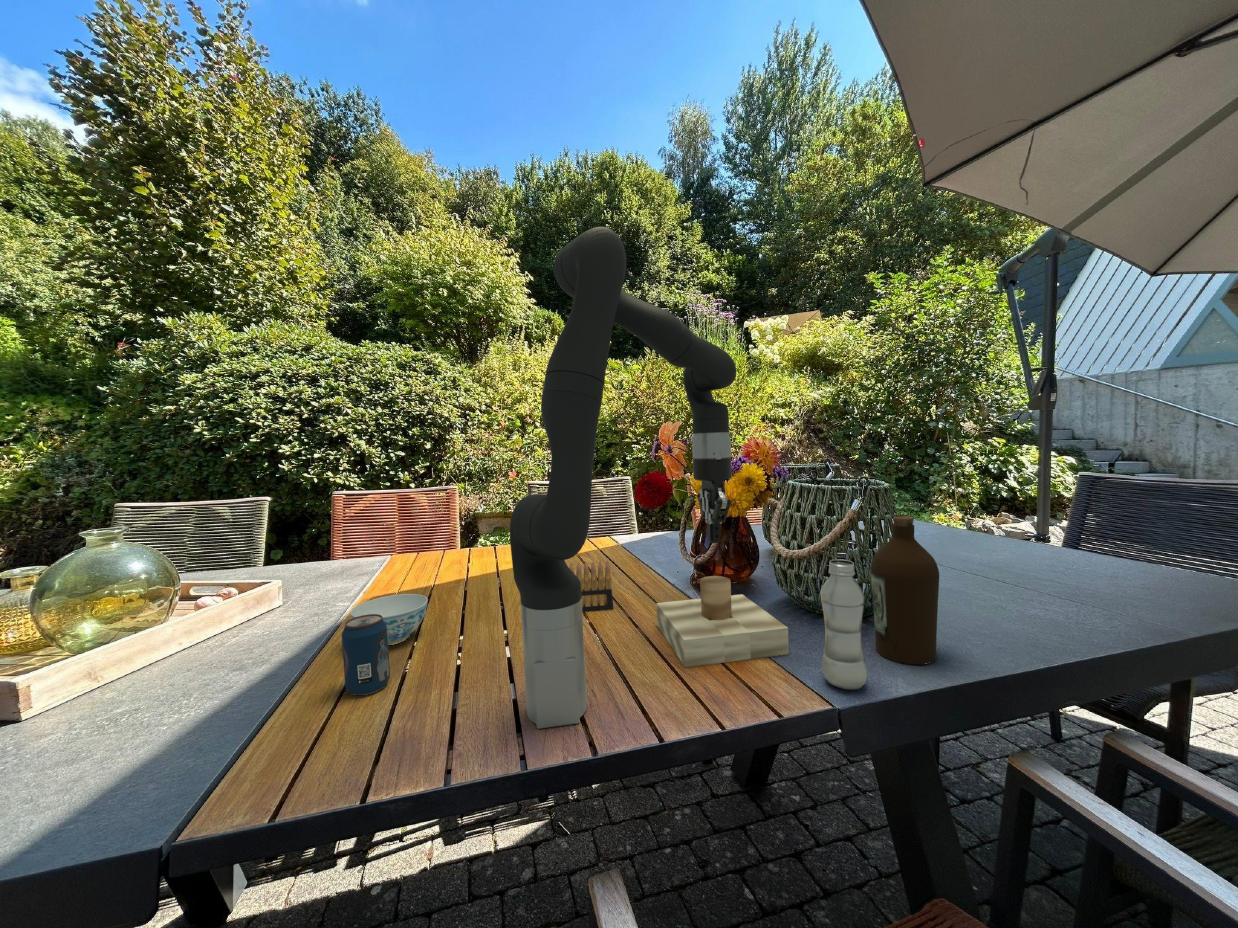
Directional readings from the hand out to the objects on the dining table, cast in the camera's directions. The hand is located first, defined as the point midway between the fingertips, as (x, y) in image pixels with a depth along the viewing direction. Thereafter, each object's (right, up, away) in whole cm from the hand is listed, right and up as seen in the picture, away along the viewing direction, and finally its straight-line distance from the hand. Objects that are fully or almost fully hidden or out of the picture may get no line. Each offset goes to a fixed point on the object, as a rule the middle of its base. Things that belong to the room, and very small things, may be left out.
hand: (714, 542), depth 96 cm
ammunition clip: (-26, -20, +21) cm, 39 cm away
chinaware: (-68, -23, +8) cm, 72 cm away
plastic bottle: (+17, -20, -19) cm, 32 cm away
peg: (+1, -20, +1) cm, 20 cm away
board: (+1, -20, +1) cm, 20 cm away
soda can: (-63, -23, -13) cm, 68 cm away
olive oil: (+33, -19, -9) cm, 39 cm away
